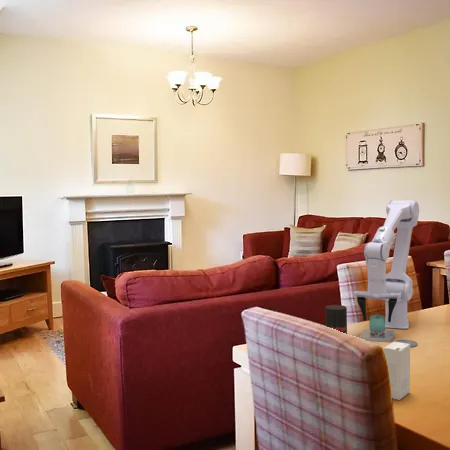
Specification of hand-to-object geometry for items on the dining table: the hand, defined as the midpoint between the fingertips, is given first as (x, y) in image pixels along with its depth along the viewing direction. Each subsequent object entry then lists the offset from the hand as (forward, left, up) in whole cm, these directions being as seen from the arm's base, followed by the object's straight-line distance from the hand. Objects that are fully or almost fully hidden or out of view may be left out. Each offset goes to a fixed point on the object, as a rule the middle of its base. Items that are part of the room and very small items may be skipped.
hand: (377, 320), depth 178 cm
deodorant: (+25, -9, -6) cm, 27 cm away
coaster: (+6, +9, -5) cm, 12 cm away
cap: (0, 0, -3) cm, 3 cm away
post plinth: (0, 0, -5) cm, 5 cm away
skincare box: (+48, +9, -6) cm, 49 cm away
